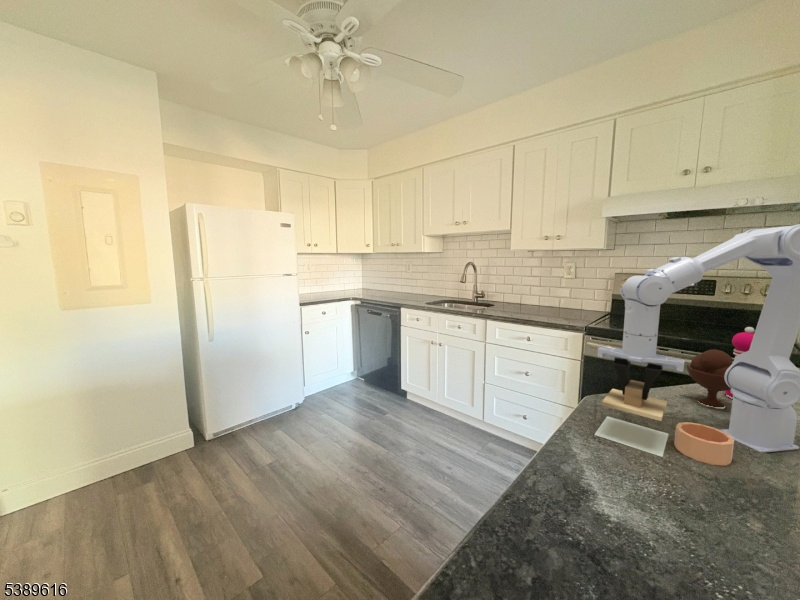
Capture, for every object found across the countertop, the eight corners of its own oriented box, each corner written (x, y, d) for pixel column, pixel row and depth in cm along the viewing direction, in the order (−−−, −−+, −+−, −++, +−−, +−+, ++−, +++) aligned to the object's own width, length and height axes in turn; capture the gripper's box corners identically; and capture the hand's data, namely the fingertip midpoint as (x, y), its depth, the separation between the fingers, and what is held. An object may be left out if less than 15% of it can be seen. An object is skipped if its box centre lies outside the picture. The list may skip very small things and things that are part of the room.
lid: (612, 391, 76) (613, 373, 75) (667, 404, 69) (668, 384, 68) (601, 405, 69) (602, 385, 68) (661, 421, 62) (663, 399, 61)
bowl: (697, 441, 67) (700, 421, 67) (743, 465, 59) (746, 442, 59) (664, 444, 66) (666, 423, 66) (705, 469, 58) (708, 446, 58)
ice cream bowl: (754, 416, 78) (762, 356, 76) (700, 412, 80) (707, 353, 78) (720, 398, 88) (726, 344, 87) (673, 394, 91) (679, 342, 89)
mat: (606, 417, 78) (607, 416, 78) (668, 435, 70) (668, 433, 70) (594, 436, 69) (594, 434, 69) (662, 458, 61) (662, 456, 61)
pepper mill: (769, 405, 84) (779, 330, 81) (736, 403, 85) (746, 329, 83) (744, 394, 91) (753, 324, 88) (715, 392, 92) (723, 323, 90)
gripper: (595, 331, 69) (591, 391, 71) (685, 342, 59) (678, 413, 61) (603, 326, 74) (599, 383, 76) (687, 336, 64) (681, 401, 66)
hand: (634, 395), depth 68 cm, fingers closed on lid, 3 cm apart
